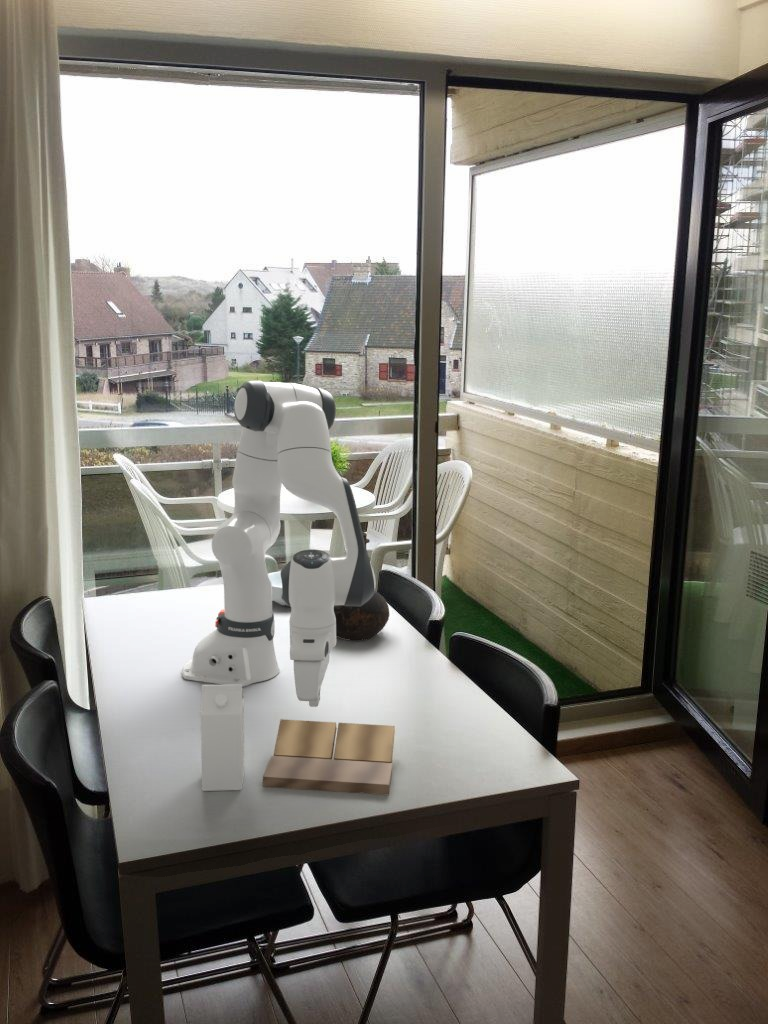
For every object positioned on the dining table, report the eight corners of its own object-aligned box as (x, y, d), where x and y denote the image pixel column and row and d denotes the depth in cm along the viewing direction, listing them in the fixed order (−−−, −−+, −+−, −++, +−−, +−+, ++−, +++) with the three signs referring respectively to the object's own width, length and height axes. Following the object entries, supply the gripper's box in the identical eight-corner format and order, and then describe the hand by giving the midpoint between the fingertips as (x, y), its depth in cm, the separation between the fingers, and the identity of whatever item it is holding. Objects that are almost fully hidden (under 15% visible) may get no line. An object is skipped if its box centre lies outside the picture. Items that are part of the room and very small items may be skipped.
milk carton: (206, 772, 174) (204, 677, 170) (244, 771, 175) (243, 676, 171) (202, 791, 167) (199, 693, 163) (242, 790, 168) (240, 692, 164)
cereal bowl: (294, 615, 261) (294, 591, 260) (249, 603, 270) (248, 580, 268) (330, 599, 275) (330, 576, 274) (286, 589, 284) (286, 567, 282)
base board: (262, 786, 169) (262, 776, 169) (271, 765, 177) (271, 755, 177) (388, 794, 168) (389, 784, 167) (392, 772, 175) (392, 763, 175)
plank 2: (334, 764, 178) (333, 758, 176) (339, 728, 184) (338, 722, 182) (391, 767, 177) (391, 761, 176) (394, 731, 183) (394, 725, 181)
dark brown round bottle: (306, 635, 245) (307, 532, 239) (352, 619, 259) (353, 521, 253) (357, 653, 234) (359, 545, 228) (402, 634, 248) (405, 532, 241)
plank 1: (274, 760, 179) (273, 754, 177) (281, 725, 184) (280, 719, 183) (331, 763, 178) (330, 758, 176) (336, 728, 184) (335, 722, 182)
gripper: (304, 617, 187) (306, 682, 190) (288, 655, 168) (290, 726, 171) (335, 618, 187) (336, 682, 190) (323, 655, 167) (324, 726, 170)
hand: (314, 703), depth 180 cm, fingers closed
